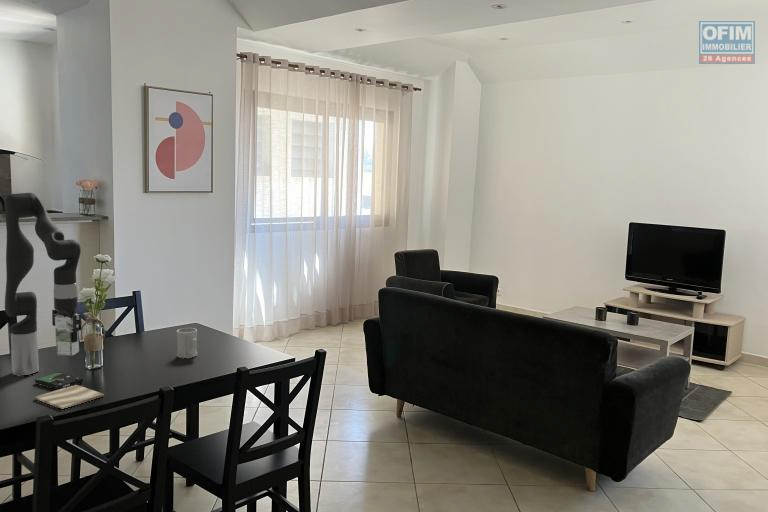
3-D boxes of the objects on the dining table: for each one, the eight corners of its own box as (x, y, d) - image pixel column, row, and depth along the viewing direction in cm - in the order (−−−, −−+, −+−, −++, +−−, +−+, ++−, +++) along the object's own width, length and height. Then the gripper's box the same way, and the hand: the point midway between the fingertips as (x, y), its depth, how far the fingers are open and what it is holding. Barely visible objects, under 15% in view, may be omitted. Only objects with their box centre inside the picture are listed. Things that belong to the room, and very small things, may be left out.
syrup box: (79, 351, 227) (78, 312, 225) (72, 356, 221) (70, 316, 219) (63, 351, 226) (62, 312, 224) (55, 356, 221) (54, 316, 219)
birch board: (34, 399, 223) (34, 396, 223) (76, 387, 237) (76, 384, 237) (62, 410, 215) (61, 407, 214) (104, 397, 228) (103, 394, 228)
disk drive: (83, 384, 242) (58, 377, 249) (83, 377, 242) (58, 371, 248) (59, 392, 233) (34, 385, 239) (59, 385, 233) (33, 378, 239)
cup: (203, 353, 285) (203, 328, 283) (196, 359, 276) (195, 333, 274) (182, 352, 286) (181, 327, 284) (173, 358, 277) (173, 332, 275)
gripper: (43, 294, 221) (45, 339, 223) (67, 300, 214) (69, 345, 216) (64, 291, 228) (65, 334, 230) (87, 296, 220) (89, 341, 222)
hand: (67, 340), depth 223 cm, fingers closed on syrup box, 8 cm apart
